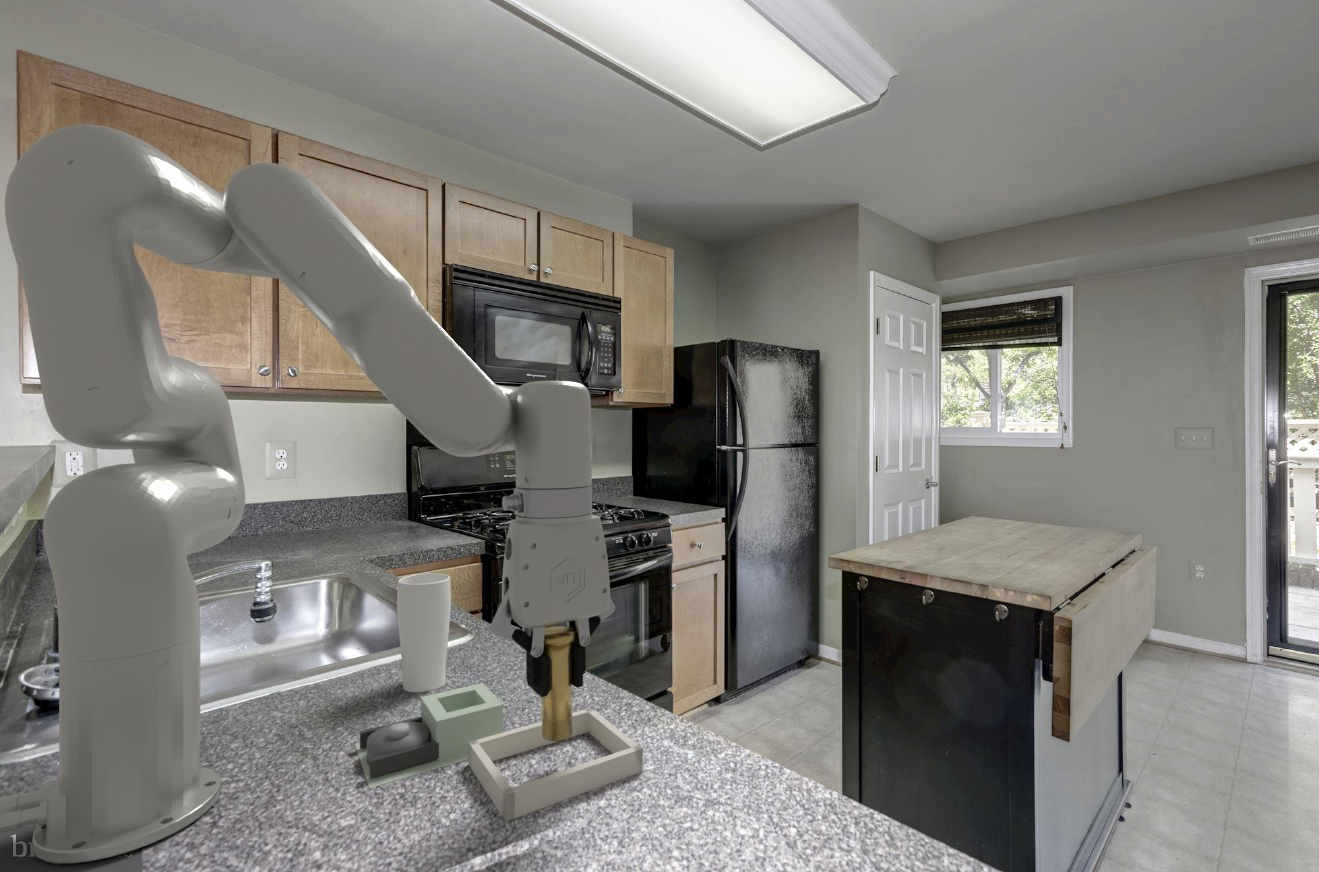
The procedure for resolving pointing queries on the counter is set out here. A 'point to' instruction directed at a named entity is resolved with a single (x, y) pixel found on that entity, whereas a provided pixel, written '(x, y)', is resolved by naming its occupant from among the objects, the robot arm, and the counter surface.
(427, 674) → the drinking glass
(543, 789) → the tray
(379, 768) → the green socket holder
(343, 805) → the counter surface
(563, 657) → the pin
